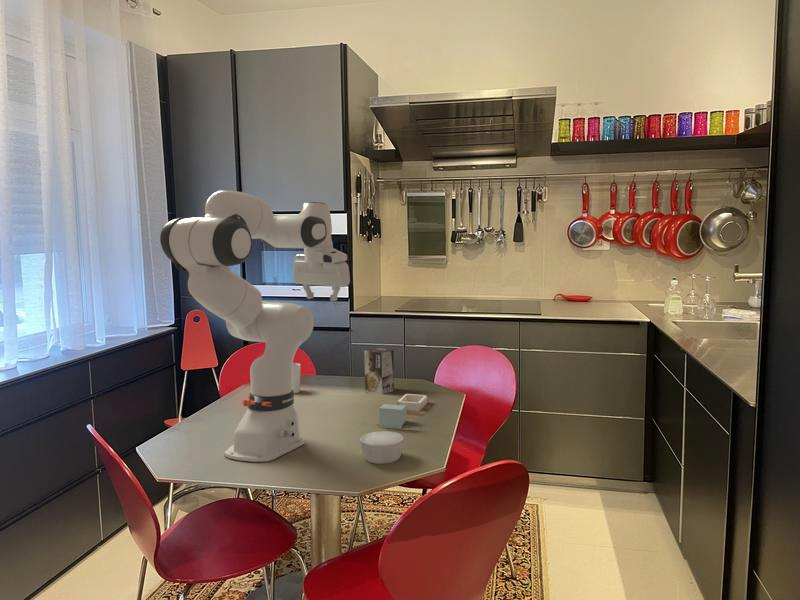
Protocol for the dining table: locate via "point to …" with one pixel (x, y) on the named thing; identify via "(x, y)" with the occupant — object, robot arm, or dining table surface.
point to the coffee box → (379, 370)
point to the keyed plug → (392, 416)
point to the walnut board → (419, 413)
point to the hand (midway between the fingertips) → (322, 299)
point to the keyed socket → (413, 401)
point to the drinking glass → (295, 377)
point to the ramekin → (382, 446)
